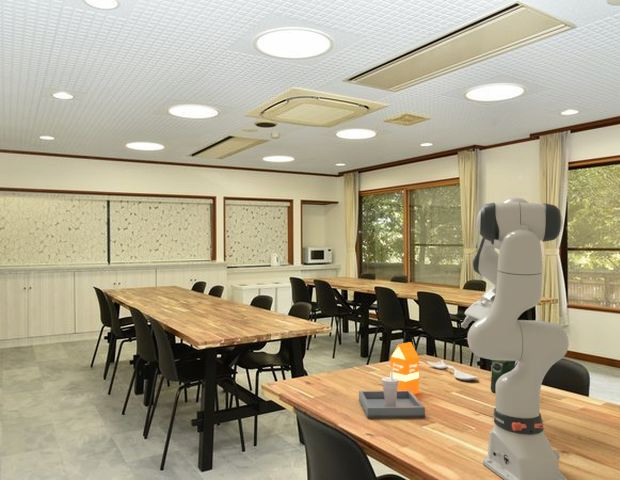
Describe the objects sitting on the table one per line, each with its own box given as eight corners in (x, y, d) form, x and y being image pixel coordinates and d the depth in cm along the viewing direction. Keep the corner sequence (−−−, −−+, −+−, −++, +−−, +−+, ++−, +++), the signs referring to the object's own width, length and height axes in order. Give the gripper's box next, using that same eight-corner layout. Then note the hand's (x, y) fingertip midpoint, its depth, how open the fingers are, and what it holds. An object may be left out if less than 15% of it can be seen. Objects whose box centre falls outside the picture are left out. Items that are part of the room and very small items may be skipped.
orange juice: (390, 392, 198) (390, 343, 198) (403, 388, 204) (403, 340, 204) (405, 397, 192) (405, 346, 192) (419, 392, 198) (419, 343, 198)
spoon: (441, 365, 244) (441, 358, 244) (482, 382, 214) (482, 374, 214) (425, 366, 242) (425, 359, 242) (464, 384, 211) (464, 376, 211)
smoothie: (399, 409, 175) (399, 369, 175) (381, 407, 176) (380, 368, 176) (399, 403, 181) (399, 365, 181) (381, 402, 182) (381, 364, 182)
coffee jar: (520, 394, 195) (520, 348, 195) (506, 397, 192) (506, 350, 192) (501, 388, 204) (500, 344, 204) (487, 391, 200) (487, 345, 200)
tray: (424, 417, 169) (424, 407, 169) (367, 418, 168) (367, 408, 168) (410, 399, 189) (410, 390, 189) (358, 400, 188) (358, 391, 188)
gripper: (476, 293, 187) (451, 318, 186) (499, 298, 167) (471, 327, 166) (488, 304, 187) (463, 330, 187) (512, 311, 167) (484, 340, 166)
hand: (467, 329), depth 176 cm, fingers open, 8 cm apart
